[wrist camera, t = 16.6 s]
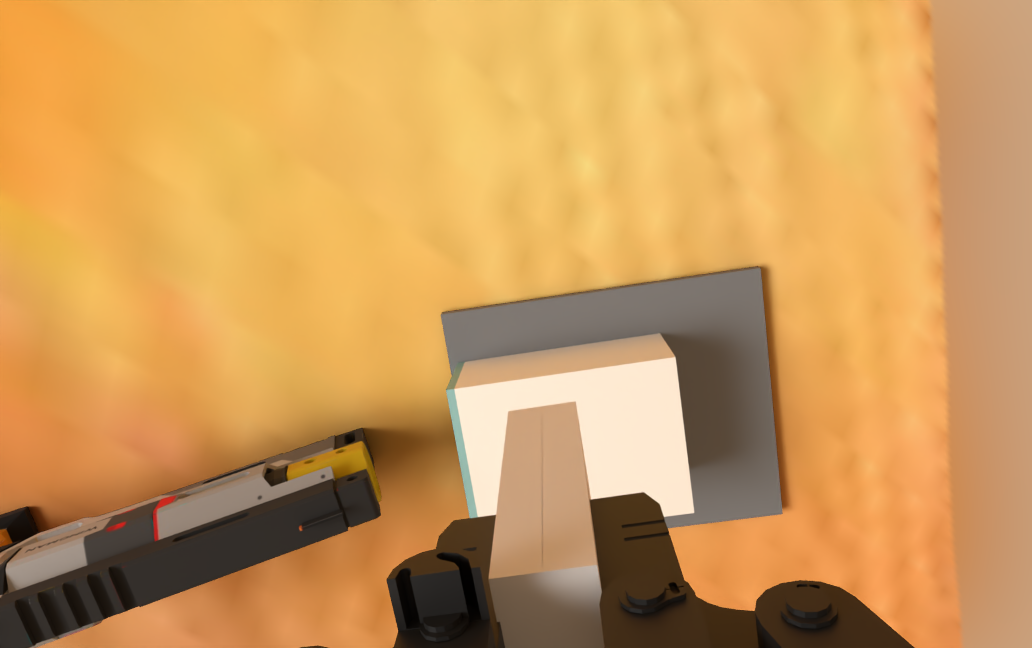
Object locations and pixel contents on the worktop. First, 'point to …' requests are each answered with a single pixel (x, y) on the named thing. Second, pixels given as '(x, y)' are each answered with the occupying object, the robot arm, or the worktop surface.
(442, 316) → the mat
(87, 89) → the worktop surface
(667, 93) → the worktop surface
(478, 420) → the cream rectangular block
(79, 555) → the toy gun
